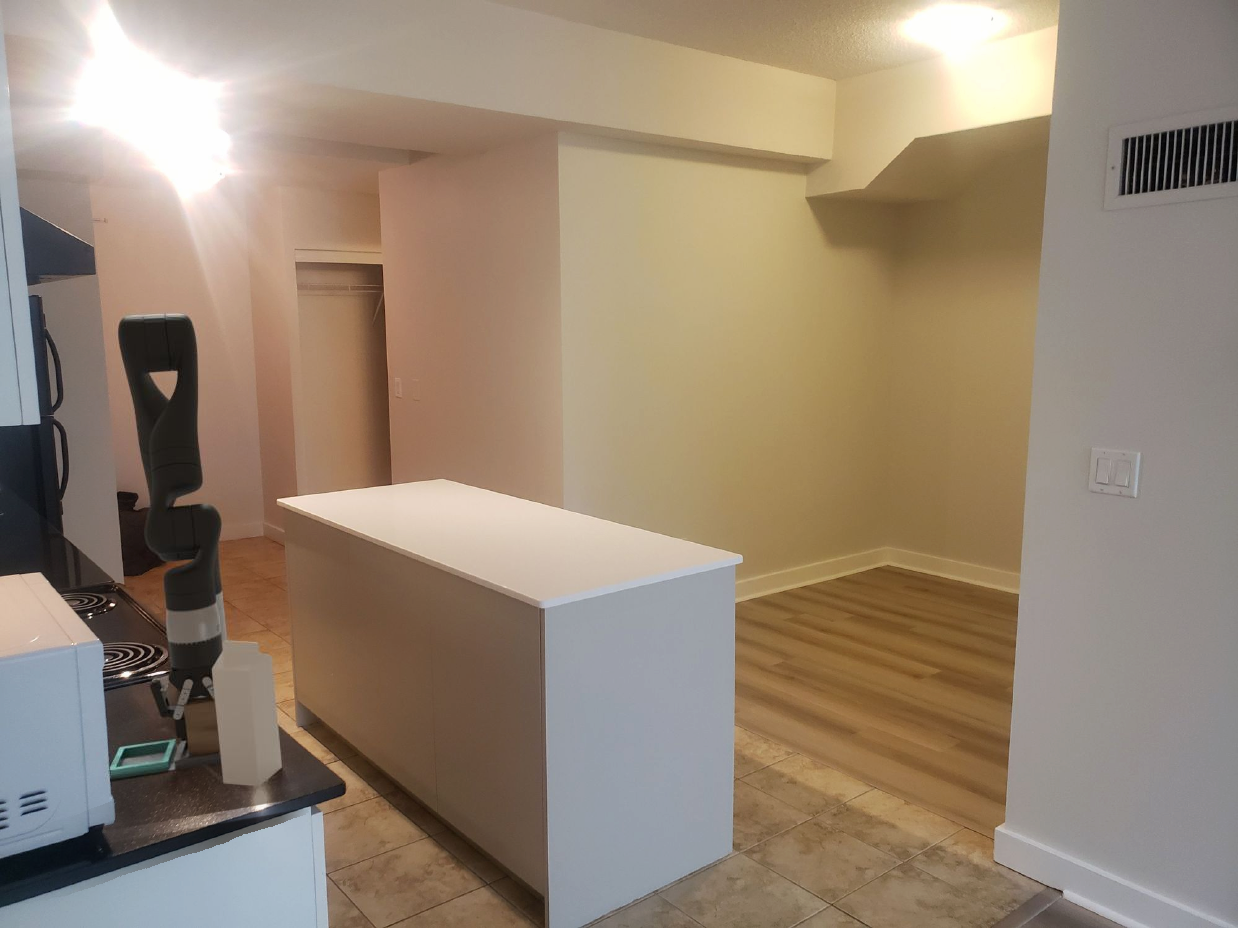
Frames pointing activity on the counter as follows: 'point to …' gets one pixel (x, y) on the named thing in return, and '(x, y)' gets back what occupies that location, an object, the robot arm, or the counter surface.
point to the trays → (157, 758)
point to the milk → (246, 714)
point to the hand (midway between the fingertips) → (205, 735)
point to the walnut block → (201, 725)
